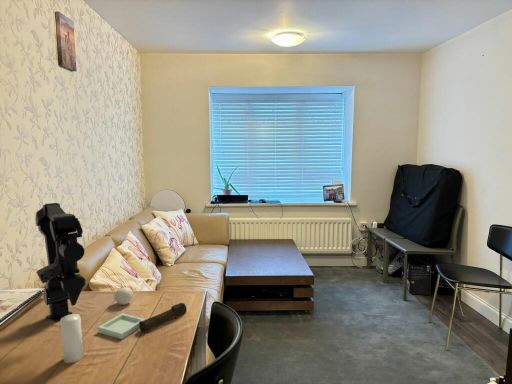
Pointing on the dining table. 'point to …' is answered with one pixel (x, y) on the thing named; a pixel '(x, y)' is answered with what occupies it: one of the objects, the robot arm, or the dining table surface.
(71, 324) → the white rounded tapered cylinder
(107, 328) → the tray
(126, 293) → the white ball
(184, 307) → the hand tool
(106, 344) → the dining table surface
